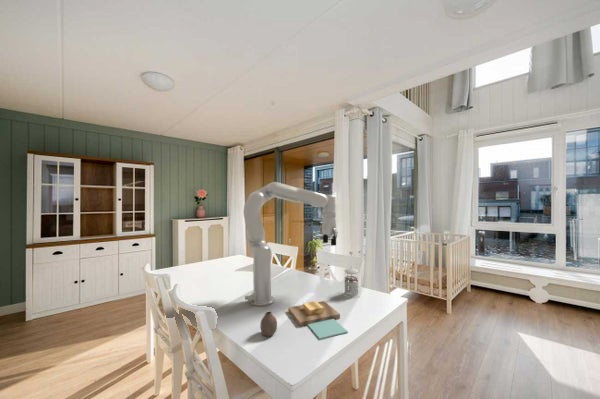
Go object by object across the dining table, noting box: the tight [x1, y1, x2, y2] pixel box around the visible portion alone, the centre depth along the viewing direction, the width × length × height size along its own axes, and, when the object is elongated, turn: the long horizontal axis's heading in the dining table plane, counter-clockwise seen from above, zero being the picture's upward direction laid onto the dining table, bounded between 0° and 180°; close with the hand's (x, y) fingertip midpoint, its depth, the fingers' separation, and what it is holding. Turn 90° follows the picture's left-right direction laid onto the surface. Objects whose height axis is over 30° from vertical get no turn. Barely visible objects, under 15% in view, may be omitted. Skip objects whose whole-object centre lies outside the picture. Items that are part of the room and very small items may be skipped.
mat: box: [307, 319, 349, 341], centre depth 106 cm, size 13×12×1 cm
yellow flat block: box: [302, 300, 324, 316], centre depth 119 cm, size 7×8×2 cm
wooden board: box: [287, 300, 341, 328], centre depth 119 cm, size 20×16×2 cm
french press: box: [342, 251, 361, 299], centre depth 144 cm, size 10×12×25 cm
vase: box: [259, 311, 278, 337], centre depth 102 cm, size 7×7×9 cm
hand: (329, 244), depth 148 cm, fingers open, 9 cm apart
